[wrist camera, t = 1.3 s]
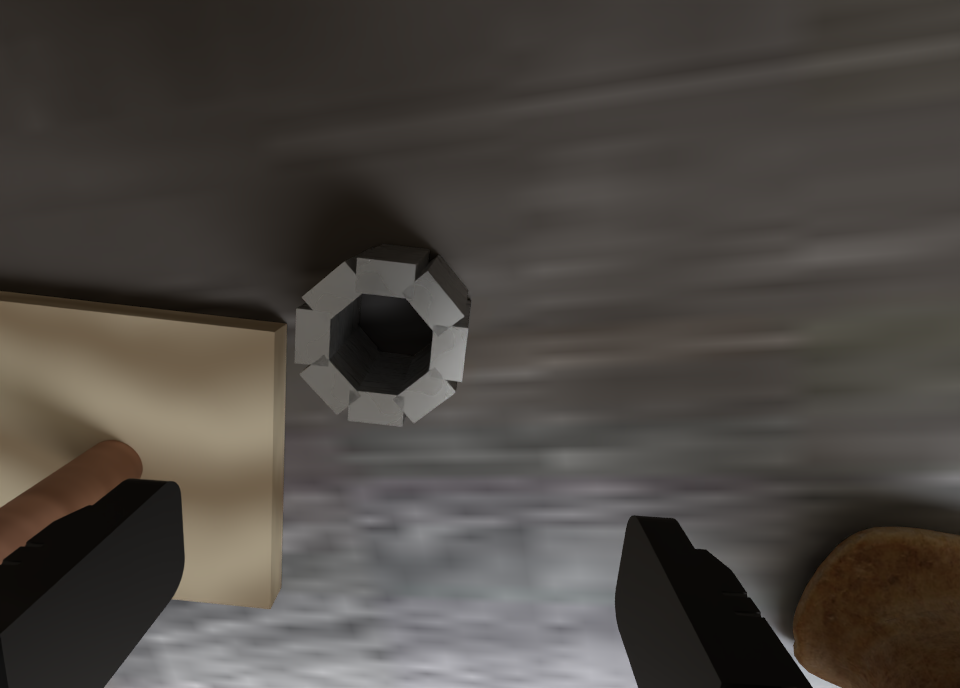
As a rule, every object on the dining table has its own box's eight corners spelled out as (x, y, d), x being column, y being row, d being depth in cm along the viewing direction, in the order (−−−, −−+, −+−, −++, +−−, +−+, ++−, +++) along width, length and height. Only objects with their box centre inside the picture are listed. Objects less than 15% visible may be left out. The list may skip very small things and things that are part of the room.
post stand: (-34, 287, 24) (-411, 358, 14) (286, 323, 24) (147, 418, 14) (3, 559, 28) (-271, 770, 18) (281, 587, 28) (167, 810, 18)
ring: (336, 238, 23) (297, 250, 19) (476, 254, 23) (474, 271, 19) (330, 371, 25) (293, 414, 20) (461, 386, 25) (456, 432, 20)
